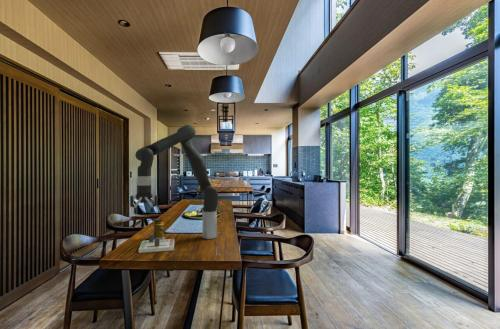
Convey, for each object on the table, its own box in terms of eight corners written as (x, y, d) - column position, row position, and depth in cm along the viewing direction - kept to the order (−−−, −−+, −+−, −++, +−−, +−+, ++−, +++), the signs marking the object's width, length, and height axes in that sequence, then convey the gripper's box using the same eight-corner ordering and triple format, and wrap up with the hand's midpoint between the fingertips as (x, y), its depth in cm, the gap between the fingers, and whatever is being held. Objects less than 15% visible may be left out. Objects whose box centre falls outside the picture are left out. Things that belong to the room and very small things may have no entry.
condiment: (165, 238, 167) (165, 219, 167) (151, 240, 162) (151, 221, 162) (162, 235, 173) (162, 217, 173) (149, 237, 168) (149, 219, 168)
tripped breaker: (159, 244, 146) (159, 237, 146) (159, 245, 143) (159, 238, 143) (154, 244, 145) (155, 237, 145) (154, 246, 143) (154, 239, 143)
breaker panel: (174, 242, 159) (174, 238, 159) (173, 250, 143) (173, 246, 143) (142, 244, 154) (143, 240, 154) (138, 253, 138) (138, 249, 138)
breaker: (153, 240, 153) (153, 233, 154) (153, 241, 151) (153, 234, 151) (149, 240, 153) (149, 234, 153) (148, 242, 150) (148, 235, 150)
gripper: (158, 183, 148) (158, 212, 148) (131, 184, 145) (131, 213, 145) (157, 184, 141) (156, 215, 141) (128, 185, 137) (128, 216, 137)
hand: (143, 214), depth 143 cm, fingers open, 7 cm apart
